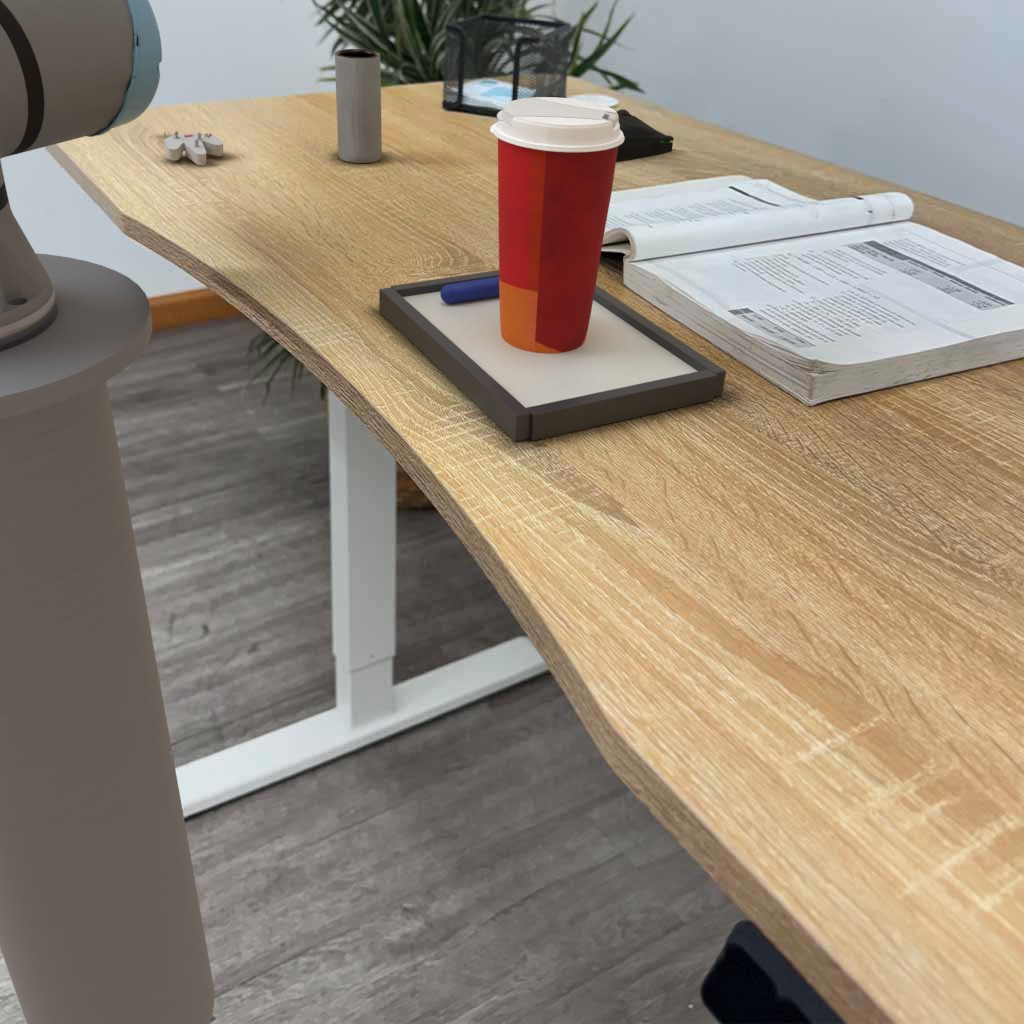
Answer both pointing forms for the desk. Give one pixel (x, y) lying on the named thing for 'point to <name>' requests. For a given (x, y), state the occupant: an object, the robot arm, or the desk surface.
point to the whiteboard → (549, 359)
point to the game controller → (193, 146)
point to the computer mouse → (640, 138)
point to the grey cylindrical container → (358, 105)
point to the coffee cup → (552, 216)
